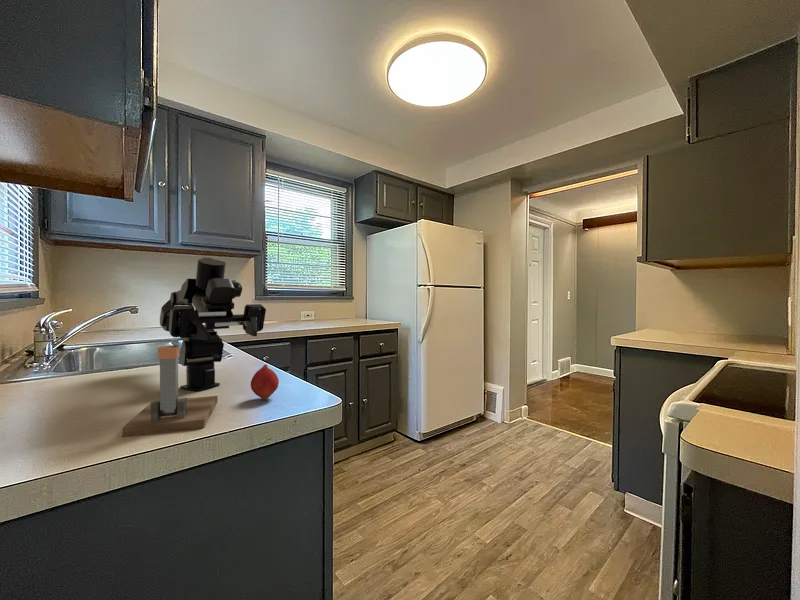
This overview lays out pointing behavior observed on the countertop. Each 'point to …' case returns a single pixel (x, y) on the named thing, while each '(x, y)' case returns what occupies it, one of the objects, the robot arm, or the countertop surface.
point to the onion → (264, 382)
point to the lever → (168, 379)
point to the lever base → (172, 417)
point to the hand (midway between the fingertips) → (233, 336)
